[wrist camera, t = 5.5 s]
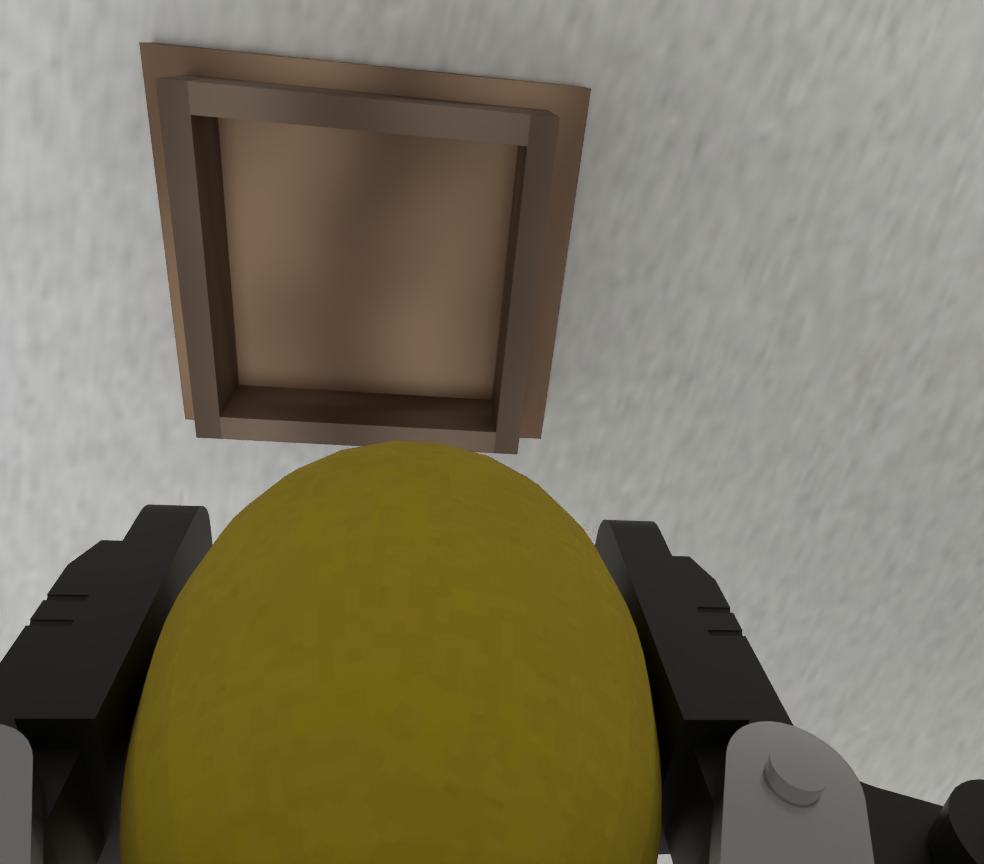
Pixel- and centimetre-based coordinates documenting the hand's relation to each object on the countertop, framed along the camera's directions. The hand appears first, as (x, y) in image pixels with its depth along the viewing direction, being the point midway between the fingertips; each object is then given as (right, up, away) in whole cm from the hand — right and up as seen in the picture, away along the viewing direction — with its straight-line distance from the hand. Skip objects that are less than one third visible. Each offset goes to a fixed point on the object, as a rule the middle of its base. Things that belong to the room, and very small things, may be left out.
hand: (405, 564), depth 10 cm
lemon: (0, +1, +2) cm, 2 cm away
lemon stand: (-3, +8, +14) cm, 16 cm away
